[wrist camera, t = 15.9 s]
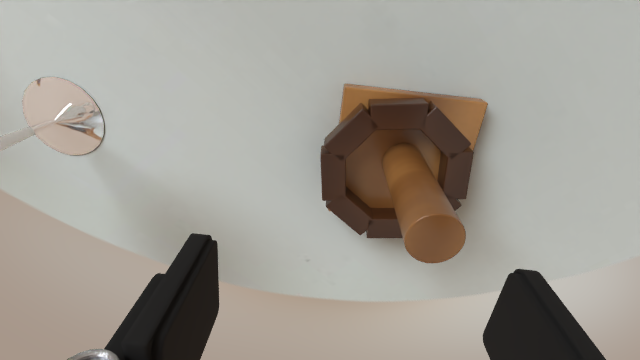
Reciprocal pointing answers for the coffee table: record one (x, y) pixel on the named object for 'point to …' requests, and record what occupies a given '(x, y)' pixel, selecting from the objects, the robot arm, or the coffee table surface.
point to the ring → (390, 117)
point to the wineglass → (59, 117)
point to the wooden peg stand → (411, 171)
